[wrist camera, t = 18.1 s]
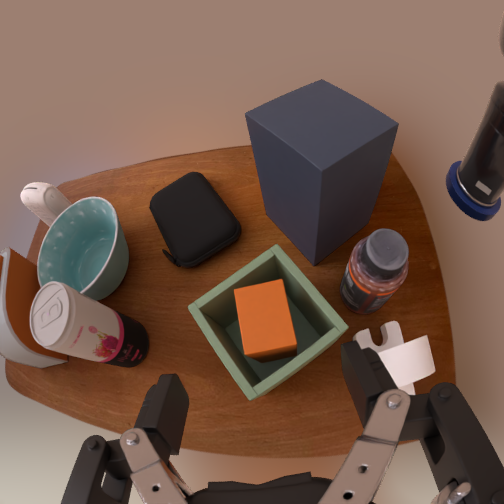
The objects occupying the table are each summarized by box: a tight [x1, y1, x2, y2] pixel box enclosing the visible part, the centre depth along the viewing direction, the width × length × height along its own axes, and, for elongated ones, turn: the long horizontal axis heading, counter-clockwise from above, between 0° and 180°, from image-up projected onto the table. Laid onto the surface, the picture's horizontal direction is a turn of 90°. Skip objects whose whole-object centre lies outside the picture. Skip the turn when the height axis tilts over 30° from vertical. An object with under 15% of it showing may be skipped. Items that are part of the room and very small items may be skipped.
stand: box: [245, 79, 399, 266], centre depth 29 cm, size 10×10×17 cm
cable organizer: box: [353, 321, 435, 395], centre depth 22 cm, size 5×10×10 cm, turn 9°
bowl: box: [37, 197, 129, 301], centre depth 35 cm, size 16×16×8 cm
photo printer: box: [21, 182, 72, 227], centre depth 39 cm, size 10×4×12 cm, turn 76°
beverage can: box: [30, 281, 149, 367], centre depth 26 cm, size 7×6×15 cm
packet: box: [234, 279, 297, 363], centre depth 25 cm, size 4×5×10 cm
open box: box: [188, 244, 349, 401], centre depth 26 cm, size 10×10×10 cm
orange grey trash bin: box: [0, 247, 68, 368], centre depth 30 cm, size 15×8×14 cm, turn 18°
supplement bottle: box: [340, 229, 409, 314], centre depth 26 cm, size 6×6×11 cm
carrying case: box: [149, 172, 241, 268], centre depth 38 cm, size 11×3×15 cm
